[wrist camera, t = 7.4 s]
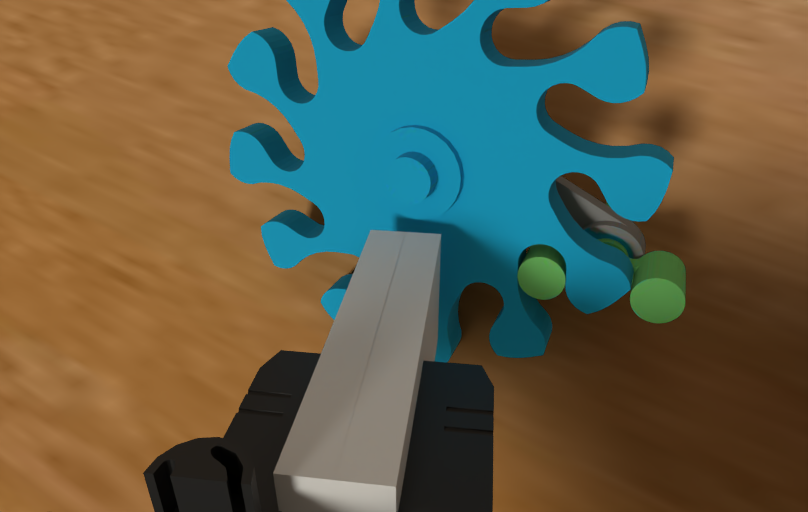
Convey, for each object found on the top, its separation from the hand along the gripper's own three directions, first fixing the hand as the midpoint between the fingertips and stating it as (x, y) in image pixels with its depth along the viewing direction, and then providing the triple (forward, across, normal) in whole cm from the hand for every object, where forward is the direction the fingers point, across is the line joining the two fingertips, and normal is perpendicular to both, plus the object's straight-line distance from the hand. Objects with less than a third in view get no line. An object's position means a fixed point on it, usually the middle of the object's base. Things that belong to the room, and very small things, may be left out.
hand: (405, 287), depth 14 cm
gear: (+4, +1, -1) cm, 4 cm away
